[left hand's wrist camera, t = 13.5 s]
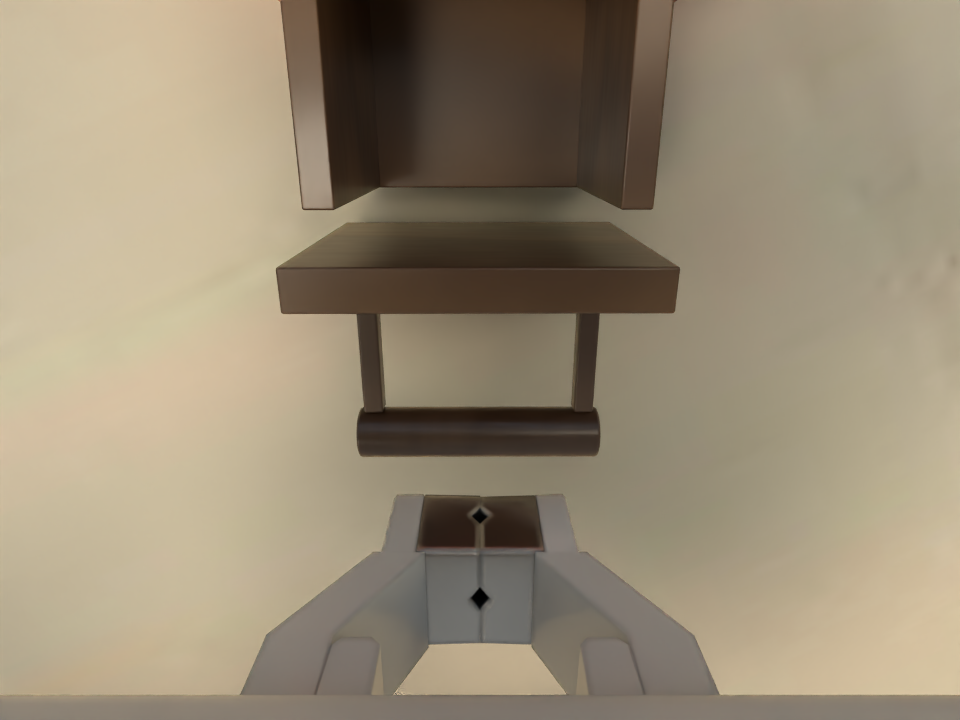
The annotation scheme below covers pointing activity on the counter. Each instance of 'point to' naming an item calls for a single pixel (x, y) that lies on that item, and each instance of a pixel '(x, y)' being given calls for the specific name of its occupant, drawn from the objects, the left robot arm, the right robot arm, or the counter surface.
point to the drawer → (477, 185)
